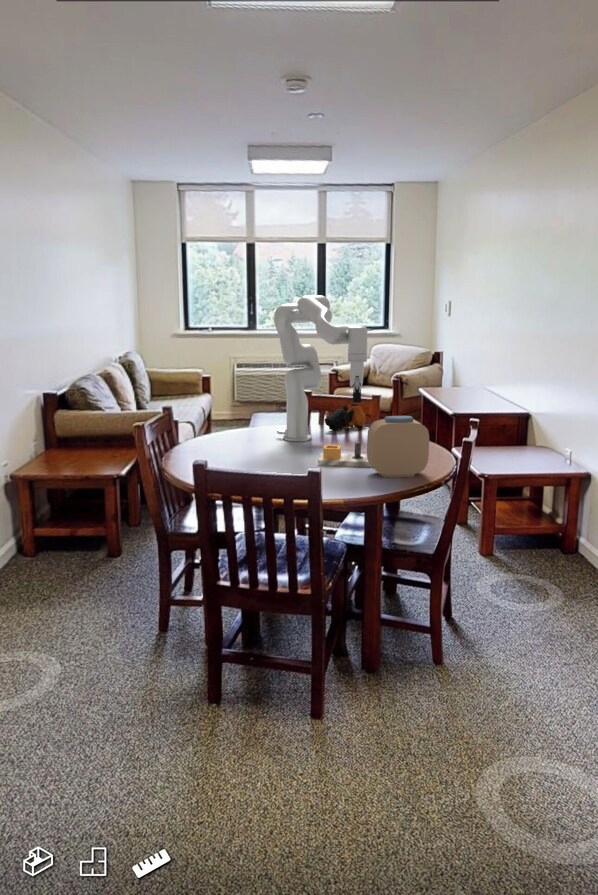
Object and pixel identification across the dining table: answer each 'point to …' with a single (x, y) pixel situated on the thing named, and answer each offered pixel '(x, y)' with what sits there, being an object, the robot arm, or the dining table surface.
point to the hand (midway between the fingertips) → (356, 400)
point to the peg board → (348, 459)
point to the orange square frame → (332, 452)
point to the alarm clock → (398, 446)
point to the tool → (346, 417)
